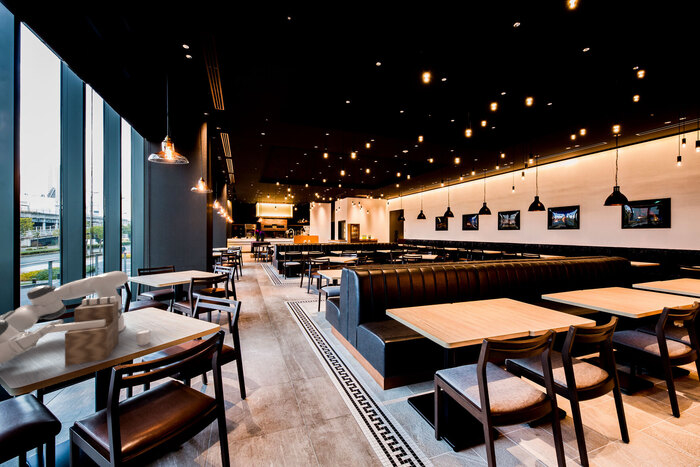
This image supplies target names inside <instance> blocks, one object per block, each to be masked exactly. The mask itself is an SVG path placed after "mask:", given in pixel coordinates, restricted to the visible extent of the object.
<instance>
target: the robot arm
mask: <svg viewBox="0 0 700 467" xmlns="http://www.w3.org/2000/svg"><path fill="white" fill-rule="evenodd" d="M128 278H129V276H128V274H127V272H124V271H120V270H114V271H110V272H103V273H100V274H98V275H94V276H89V277H85V278H81V279H78V280H77V279H76V280H74V281H71V282H68V283H65V284H62V285H59V287H57V286H55V285H49V284H43V285H39V286H35V287H33V288H32V289H30V290H29V291H27V293H26V296H27V298H28V300H30V302H31V304H24V305H21V306H20V307H18V308H16V309H15V310H9V311H8V312H7V311H6V312H5V313H3V314H2V315H0V365H2V364H4V363H6V362H8V361H11V360H12V359H13V358H15V357H16V356H17V355H18V356H19V355H21V354H23V353H25V352H27V351H29V350H31V349H33V348H34V347H36V345H37V343H38V342H39V341H40V339H41V338H43V337H44V336H46V335H47V334H49V333H48V332H49V331H50V330H52V329H54V328H55V325H57V324H64V320H63V319H59V320H56V321H50V322H49V323H47V324H45V325H43V326H41V327H39V328H37V329H35V330H34V331H31V330H30V329H31V328H33V327H34V326H35V325H36V324H37V322H38V320H43V319H44V320H53V319H56V318H59V317H60V316H62V315H64V313H66V310H67V308H66V305H65V304H64V303H63V301H68V300H74V299H79V298H83V297H86V296H91V295H94V294H96V295H97V298H100V297H101V298H102V297H114V296H116V301H118V333H120V332H122V331H124V330H125V328H126V327H127V324H125V319H124V318H125V317H124V315H123V308H122V297H121V295H119V294H118V290H117V288H119V287H121V286H123V285H124V284H126V283H127V281H128ZM62 300H63V301H62ZM49 325H51V326H49ZM47 326H49V327H47ZM46 327H47V328H46ZM27 330H29V331H27Z"/></svg>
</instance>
